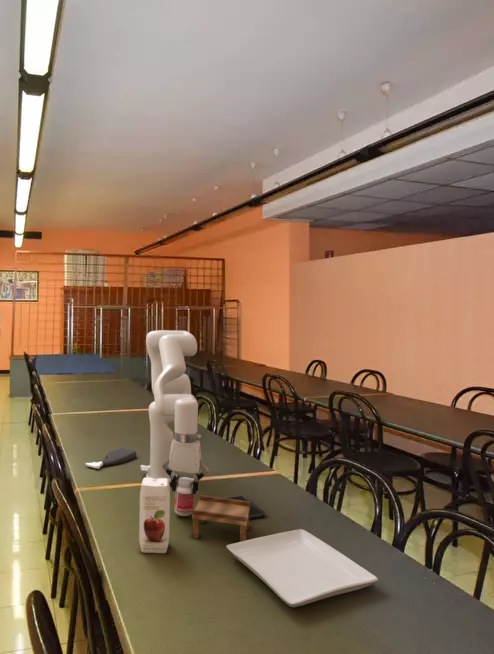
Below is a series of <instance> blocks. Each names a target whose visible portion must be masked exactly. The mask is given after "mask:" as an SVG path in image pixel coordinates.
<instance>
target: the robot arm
mask: <svg viewBox="0 0 494 654" xmlns="http://www.w3.org/2000/svg"><path fill="white" fill-rule="evenodd" d="M145 346H146V351H147V354H148V356H149V360H150V366H151V369H150V371H151V372H150V373H151V392H152V394H153V399H154V401H152V402H151V403H150V404H149V406H148V418H149V429H150V430H149V431H150V434H149V435H150V445H149V447H150V448H149V459H150V460H149V464H148V465H145V464H141V465H140V467H139V469H140V471H141V472H143V473H145V478H153V479H159V478H167V479H168V481H169V484H170V488H172V489H171V491H172V492H175V491H176V486H177V485H178V474H177V472H178V473H186V474H191V475H192V479H193V484H192V486H193V494H194V495H196V493H197V491H199V481H200V480H201V479H203V478H204V477H205V476H206V475H207V474H208V473H209V471H210V469H209V468H208V467H207V465H205V464H204V463H203V461H202V448H201V442H200V441H201V440H202V438H203V435H202V434H199V431H198V425H199V424H198V423H199V422H198V421H199V404H198V401H197V398H196V397H195V395H194V394H192V385H191V380H190V377H189V375H187V374H186V370H187V366H186V361H185V357H193V356H195V355H196V354H197V352H198V342H197V340H196V337H195V336H194V335H193V334H192V333H190V332H189V331H187V330H171V329H170V330H169V329H168V330H167V329H160V330H159V329H158V330H151V331H149V332H147V334H146V338H145ZM169 425H174V432H173V430H172V429H171V428H170V427H169ZM200 470H202V471H201V472H200ZM199 472H200V473H199Z"/></svg>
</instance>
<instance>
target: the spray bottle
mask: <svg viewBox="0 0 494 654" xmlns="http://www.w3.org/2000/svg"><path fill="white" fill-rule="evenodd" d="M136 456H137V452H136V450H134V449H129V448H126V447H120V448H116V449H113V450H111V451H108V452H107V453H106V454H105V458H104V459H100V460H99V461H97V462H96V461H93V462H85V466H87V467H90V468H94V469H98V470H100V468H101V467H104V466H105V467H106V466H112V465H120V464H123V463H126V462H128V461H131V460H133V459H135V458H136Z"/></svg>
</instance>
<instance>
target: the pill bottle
mask: <svg viewBox="0 0 494 654" xmlns="http://www.w3.org/2000/svg"><path fill="white" fill-rule="evenodd" d="M193 481H194V479H193V478H191V477H187V476H182V477H179V478H178V479H177V486H176V489H175V491H174V492H175V494H174V508H173V509H174V513H175V514H176V515H178V516H180V517H189V516H192V510H193V509H194V499H195V494H193Z"/></svg>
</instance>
